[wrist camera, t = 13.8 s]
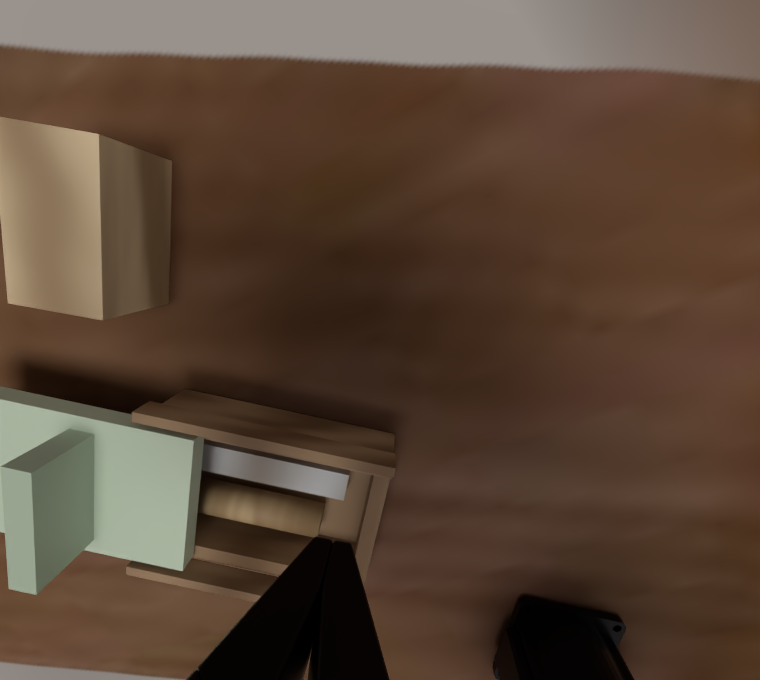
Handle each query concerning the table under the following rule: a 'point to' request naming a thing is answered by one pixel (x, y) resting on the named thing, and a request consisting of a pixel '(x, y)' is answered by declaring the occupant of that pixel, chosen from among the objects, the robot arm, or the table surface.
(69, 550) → the lid
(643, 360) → the table surface
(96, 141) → the block
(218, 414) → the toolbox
